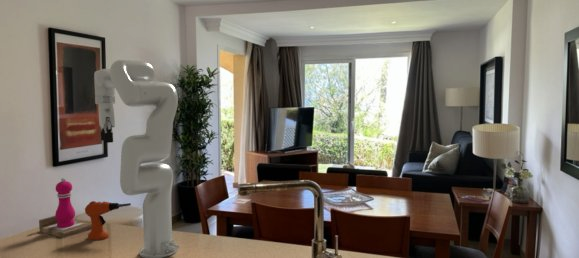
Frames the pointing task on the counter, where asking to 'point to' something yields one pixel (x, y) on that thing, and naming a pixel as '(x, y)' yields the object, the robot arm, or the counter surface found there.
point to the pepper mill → (64, 205)
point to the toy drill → (99, 217)
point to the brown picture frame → (51, 227)
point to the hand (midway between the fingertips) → (107, 141)
